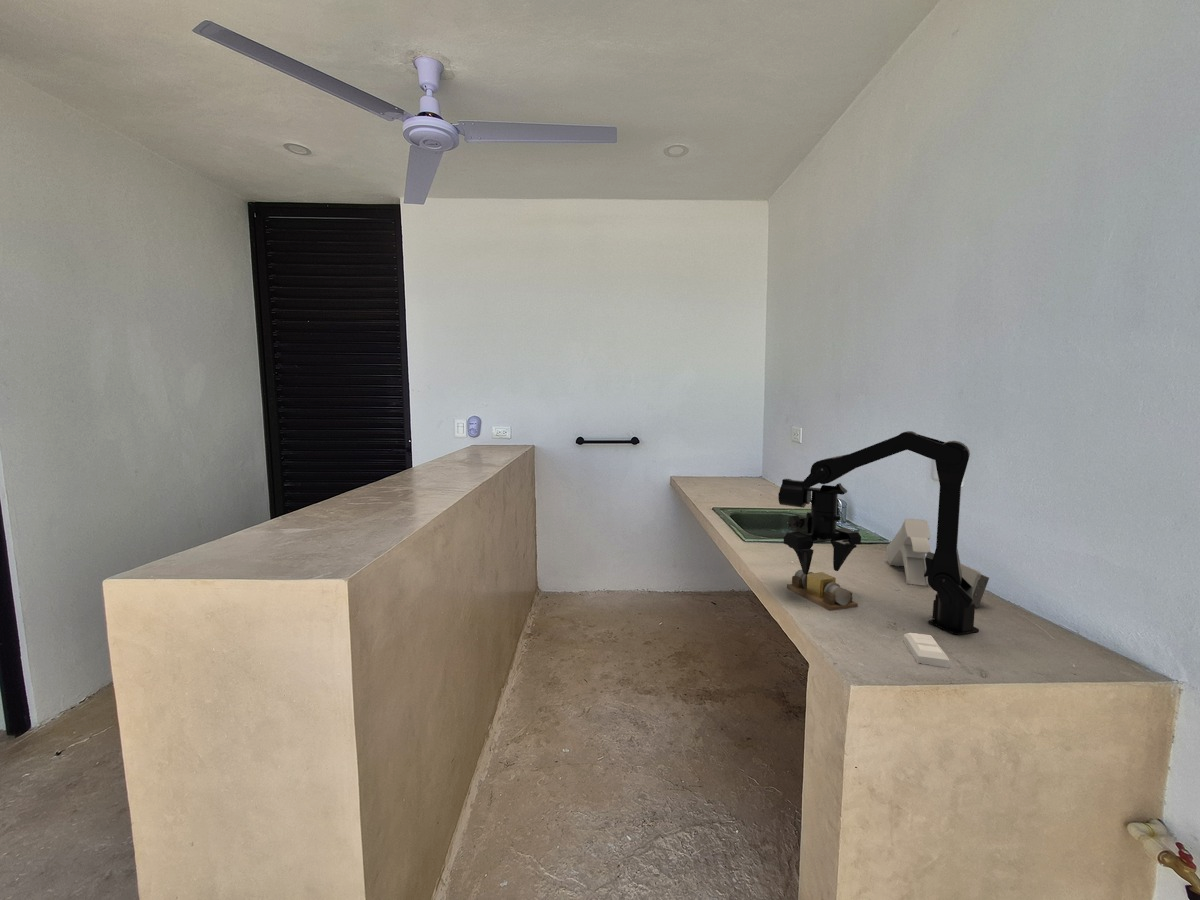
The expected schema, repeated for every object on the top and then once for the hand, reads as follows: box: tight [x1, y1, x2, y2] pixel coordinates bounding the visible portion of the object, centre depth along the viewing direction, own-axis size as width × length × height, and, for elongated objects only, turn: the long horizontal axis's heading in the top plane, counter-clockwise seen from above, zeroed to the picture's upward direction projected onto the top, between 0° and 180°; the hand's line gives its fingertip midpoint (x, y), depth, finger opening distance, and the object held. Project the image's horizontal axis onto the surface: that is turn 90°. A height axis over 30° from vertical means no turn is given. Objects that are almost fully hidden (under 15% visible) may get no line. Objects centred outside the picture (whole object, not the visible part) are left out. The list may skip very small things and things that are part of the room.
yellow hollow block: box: [807, 571, 837, 598], centre depth 119 cm, size 5×4×4 cm
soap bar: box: [903, 632, 951, 669], centre depth 92 cm, size 5×9×3 cm, turn 162°
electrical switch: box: [960, 562, 990, 609], centre depth 117 cm, size 9×5×9 cm, turn 0°
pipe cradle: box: [786, 569, 858, 611], centre depth 119 cm, size 15×8×5 cm, turn 17°
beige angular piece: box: [886, 518, 932, 587], centre depth 134 cm, size 6×16×20 cm
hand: (820, 572), depth 119 cm, fingers open, 9 cm apart
